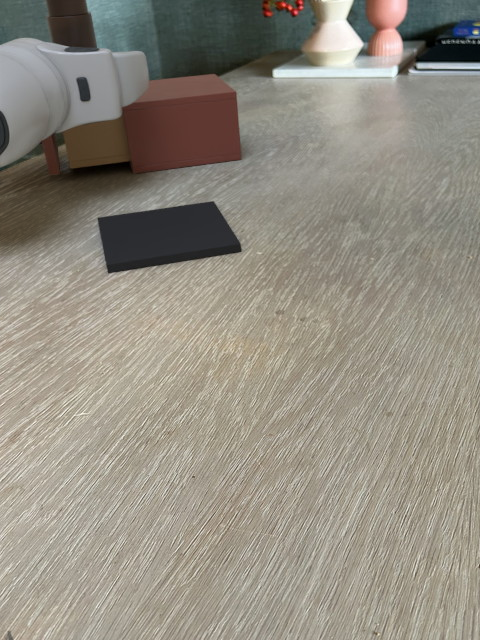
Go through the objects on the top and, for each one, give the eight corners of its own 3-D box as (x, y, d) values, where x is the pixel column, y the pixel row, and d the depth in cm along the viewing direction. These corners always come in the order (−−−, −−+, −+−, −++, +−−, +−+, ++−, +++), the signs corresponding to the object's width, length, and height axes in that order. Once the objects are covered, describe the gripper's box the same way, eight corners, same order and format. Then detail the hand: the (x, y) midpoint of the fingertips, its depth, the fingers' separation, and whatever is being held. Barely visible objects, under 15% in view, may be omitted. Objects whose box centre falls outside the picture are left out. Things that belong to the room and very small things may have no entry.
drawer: (39, 177, 79) (25, 121, 76) (39, 151, 88) (27, 101, 85) (154, 162, 82) (146, 108, 79) (143, 139, 91) (135, 90, 88)
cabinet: (133, 173, 82) (121, 103, 77) (123, 147, 92) (112, 84, 87) (241, 159, 85) (236, 91, 80) (220, 135, 95) (214, 73, 90)
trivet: (108, 273, 58) (106, 264, 58) (98, 225, 68) (97, 217, 68) (241, 251, 61) (240, 243, 60) (214, 208, 71) (213, 200, 70)
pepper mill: (75, 155, 82) (35, -31, 71) (74, 145, 86) (36, -33, 75) (116, 150, 83) (83, -34, 72) (113, 140, 87) (81, -36, 76)
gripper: (-60, 125, 69) (-5, 95, 81) (134, 118, 68) (162, 89, 79) (-81, 58, 66) (-21, 37, 77) (123, 50, 64) (154, 30, 75)
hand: (74, 63), depth 78 cm, fingers open, 8 cm apart
